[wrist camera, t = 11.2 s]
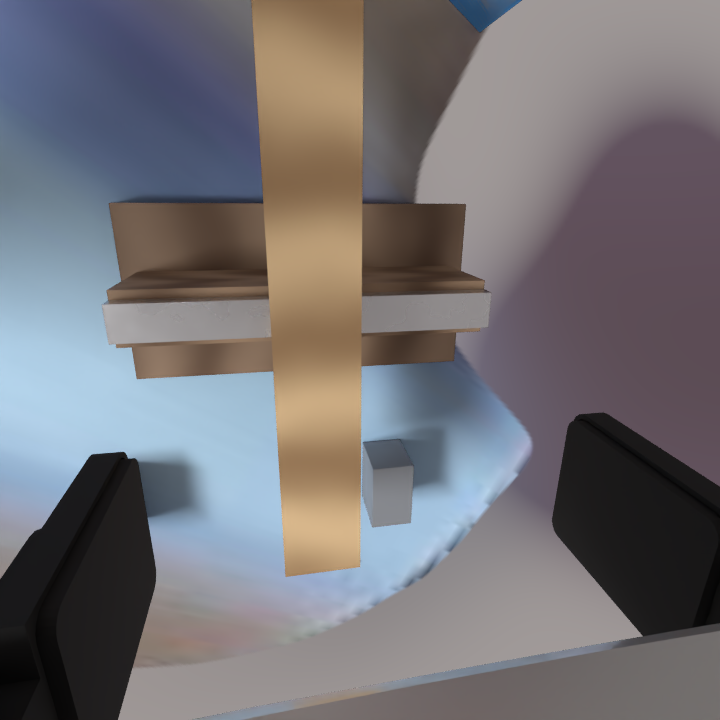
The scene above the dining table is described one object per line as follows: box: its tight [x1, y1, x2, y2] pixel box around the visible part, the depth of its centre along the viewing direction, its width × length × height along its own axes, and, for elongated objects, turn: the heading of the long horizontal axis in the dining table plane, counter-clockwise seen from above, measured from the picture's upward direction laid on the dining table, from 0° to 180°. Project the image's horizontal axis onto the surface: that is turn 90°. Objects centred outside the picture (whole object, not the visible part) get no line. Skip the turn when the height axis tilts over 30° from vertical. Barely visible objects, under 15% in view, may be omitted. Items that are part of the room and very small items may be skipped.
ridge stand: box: [102, 203, 491, 379], centre depth 29 cm, size 22×11×8 cm, turn 90°
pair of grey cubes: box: [362, 439, 414, 527], centre depth 35 cm, size 23×5×4 cm, turn 90°
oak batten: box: [251, 0, 364, 577], centre depth 23 cm, size 26×4×4 cm, turn 0°
